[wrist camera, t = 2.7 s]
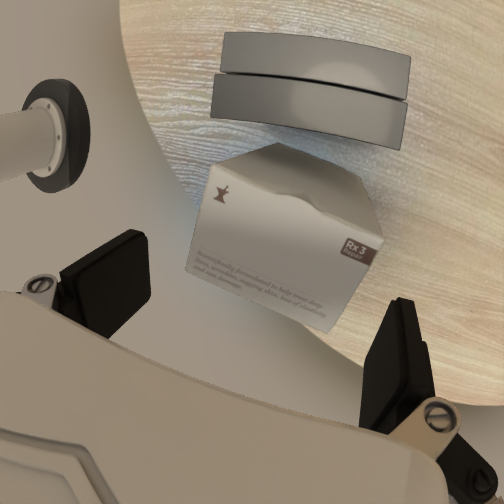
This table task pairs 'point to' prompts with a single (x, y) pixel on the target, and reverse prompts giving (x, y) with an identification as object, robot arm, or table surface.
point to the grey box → (313, 85)
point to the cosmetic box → (285, 233)
